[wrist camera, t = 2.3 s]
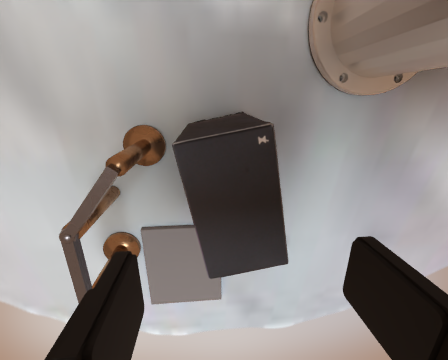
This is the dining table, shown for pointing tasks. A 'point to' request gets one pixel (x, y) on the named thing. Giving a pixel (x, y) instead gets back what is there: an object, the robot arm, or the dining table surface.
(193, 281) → the rubber pad
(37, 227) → the dining table surface
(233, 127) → the small box
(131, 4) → the dining table surface
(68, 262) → the bent rod
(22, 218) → the dining table surface
